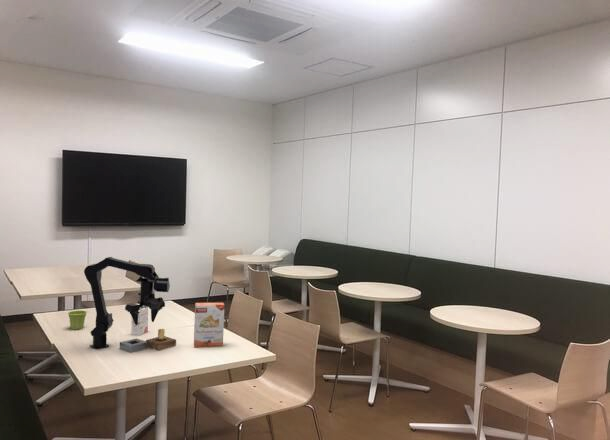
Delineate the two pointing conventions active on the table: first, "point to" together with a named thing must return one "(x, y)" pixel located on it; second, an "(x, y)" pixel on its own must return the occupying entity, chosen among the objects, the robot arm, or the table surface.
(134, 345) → the socket block
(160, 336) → the brass peg
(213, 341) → the cracker box
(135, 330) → the ink cartridge box
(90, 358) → the table surface
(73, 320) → the plant pot
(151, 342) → the brown square frame
